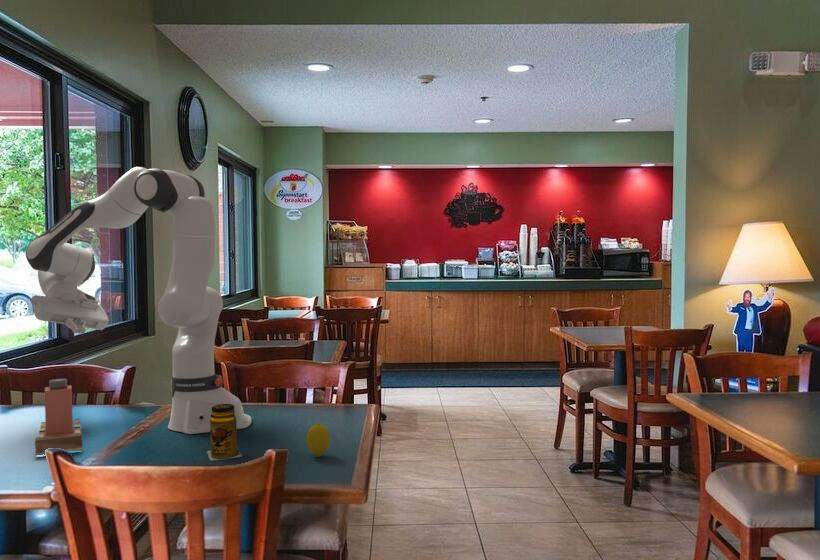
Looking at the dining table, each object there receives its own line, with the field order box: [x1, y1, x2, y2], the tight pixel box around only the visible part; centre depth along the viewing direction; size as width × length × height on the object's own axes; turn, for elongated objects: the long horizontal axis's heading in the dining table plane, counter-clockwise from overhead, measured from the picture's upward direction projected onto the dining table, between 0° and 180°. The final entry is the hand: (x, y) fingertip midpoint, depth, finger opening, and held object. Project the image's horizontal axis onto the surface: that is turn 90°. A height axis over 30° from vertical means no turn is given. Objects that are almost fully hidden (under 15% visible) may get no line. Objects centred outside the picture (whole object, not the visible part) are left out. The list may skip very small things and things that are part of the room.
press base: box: [34, 418, 83, 456], centre depth 175 cm, size 24×10×4 cm, turn 26°
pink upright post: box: [44, 378, 74, 436], centre depth 173 cm, size 5×6×15 cm
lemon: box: [306, 422, 331, 458], centre depth 161 cm, size 6×6×8 cm
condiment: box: [206, 404, 243, 462], centre depth 163 cm, size 7×8×12 cm
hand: (79, 331), depth 190 cm, fingers closed
